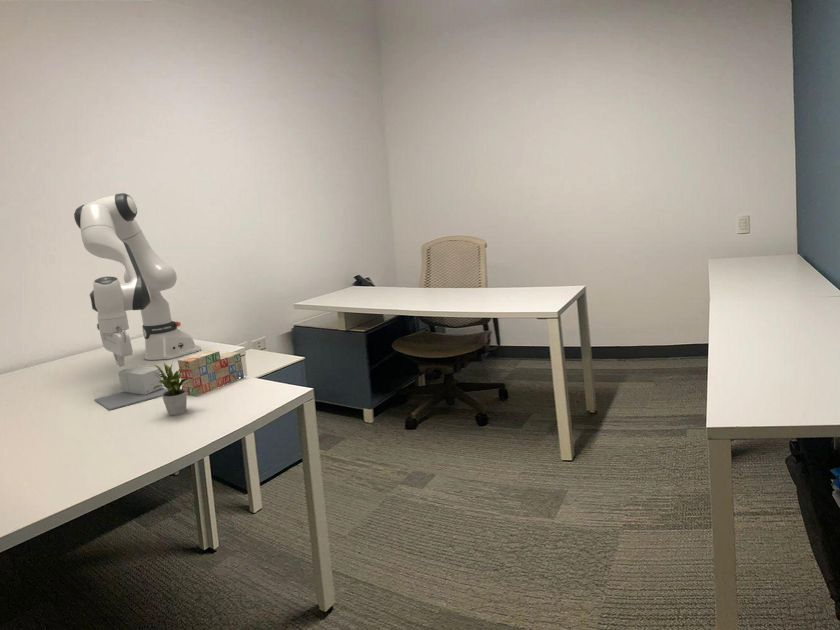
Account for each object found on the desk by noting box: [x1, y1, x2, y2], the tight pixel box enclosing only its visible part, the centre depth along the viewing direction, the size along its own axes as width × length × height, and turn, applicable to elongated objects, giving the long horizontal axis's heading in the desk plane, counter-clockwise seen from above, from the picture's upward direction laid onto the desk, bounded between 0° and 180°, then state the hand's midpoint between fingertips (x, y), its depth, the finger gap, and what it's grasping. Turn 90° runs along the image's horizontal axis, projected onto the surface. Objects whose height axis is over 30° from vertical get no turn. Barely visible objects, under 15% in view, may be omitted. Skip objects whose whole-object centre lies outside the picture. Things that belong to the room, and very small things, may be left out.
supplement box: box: [118, 365, 164, 395], centre depth 210 cm, size 7×7×13 cm
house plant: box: [142, 360, 192, 416], centre depth 185 cm, size 14×14×16 cm
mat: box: [94, 387, 168, 411], centre depth 206 cm, size 20×16×1 cm
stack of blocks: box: [177, 349, 244, 397], centre depth 210 cm, size 21×6×12 cm, turn 149°
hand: (120, 365), depth 209 cm, fingers closed
